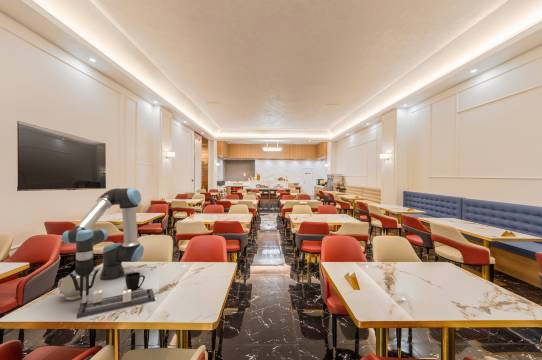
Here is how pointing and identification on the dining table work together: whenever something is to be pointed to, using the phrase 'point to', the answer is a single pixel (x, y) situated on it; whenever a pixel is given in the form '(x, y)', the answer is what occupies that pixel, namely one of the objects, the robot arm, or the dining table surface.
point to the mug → (133, 281)
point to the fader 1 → (97, 296)
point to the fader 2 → (126, 295)
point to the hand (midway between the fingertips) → (84, 301)
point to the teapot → (70, 287)
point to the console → (115, 303)
